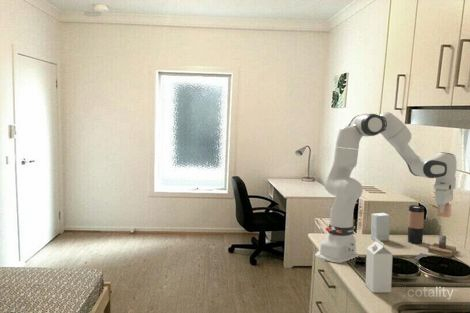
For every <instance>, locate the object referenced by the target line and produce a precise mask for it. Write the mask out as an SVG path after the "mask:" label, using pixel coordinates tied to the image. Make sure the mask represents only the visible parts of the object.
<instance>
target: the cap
mask: <svg viewBox="0 0 470 313" xmlns="http://www.w3.org/2000/svg"><path fill="white" fill-rule="evenodd" d="M436 208H437V209H436V211H437V212H436V216H437V217H441V218H442V217H443V218H450V217H451V216H452V215H451V214H452V204H451V203H449V204H445V212H444V213H441V212H440V205H437V207H436Z"/></svg>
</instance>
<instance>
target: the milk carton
mask: <svg viewBox="0 0 470 313" xmlns="http://www.w3.org/2000/svg"><path fill="white" fill-rule="evenodd" d="M365 259H366V260H365V264H366V265H365V266H366V267H365V286H366V287H367V288H368V289H369V291H371V292H372V293H377V294H378V293H392V282H393V280H392V277H393V276H392V273H393V253H392V252H390V251H389V250H388V249H387V248H386V247H385V244H384V243H383V241H379V240H378V239H376V241H375V240H374V242H373V243H371V244H370V245H369V246H367V247H366V258H365Z"/></svg>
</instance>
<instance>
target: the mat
mask: <svg viewBox="0 0 470 313" xmlns="http://www.w3.org/2000/svg"><path fill="white" fill-rule="evenodd" d="M427 256H433V255H432V254H427V253H424V252H423V253H419V254H418V255H416V256H415V257H414V258H413V260H416V261H418V260H419V259H420V258H422V257H427Z"/></svg>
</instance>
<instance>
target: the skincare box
mask: <svg viewBox="0 0 470 313" xmlns="http://www.w3.org/2000/svg"><path fill="white" fill-rule="evenodd" d="M370 215H371V218H370V223H371V224H370V231H371V232H370V239H371V240H373V241H374V242H375V241H376V239H378V240H379V241H381V242H385V241H386V242H387V241H388V242H389V241H390V218H391V216H390V214H388V213H385V212H378V213H376V212H375V213H371V214H370Z"/></svg>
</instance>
